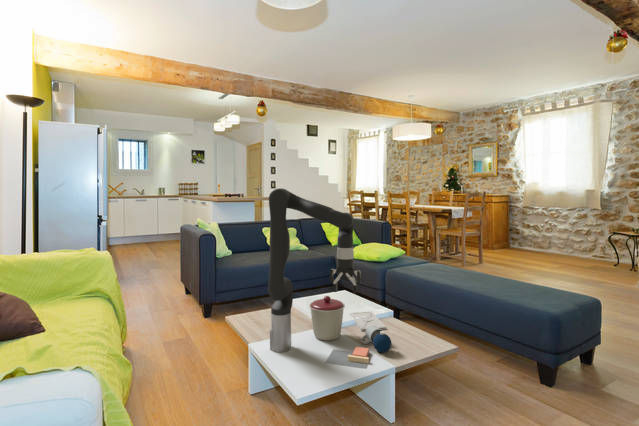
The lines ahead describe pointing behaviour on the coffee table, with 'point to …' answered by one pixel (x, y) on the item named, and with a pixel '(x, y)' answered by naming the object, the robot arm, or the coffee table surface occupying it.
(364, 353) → the box
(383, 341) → the christmas ornament
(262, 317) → the coffee table surface
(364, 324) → the envelope
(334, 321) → the canister
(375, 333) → the ceramic mug
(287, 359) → the coffee table surface
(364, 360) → the mat
